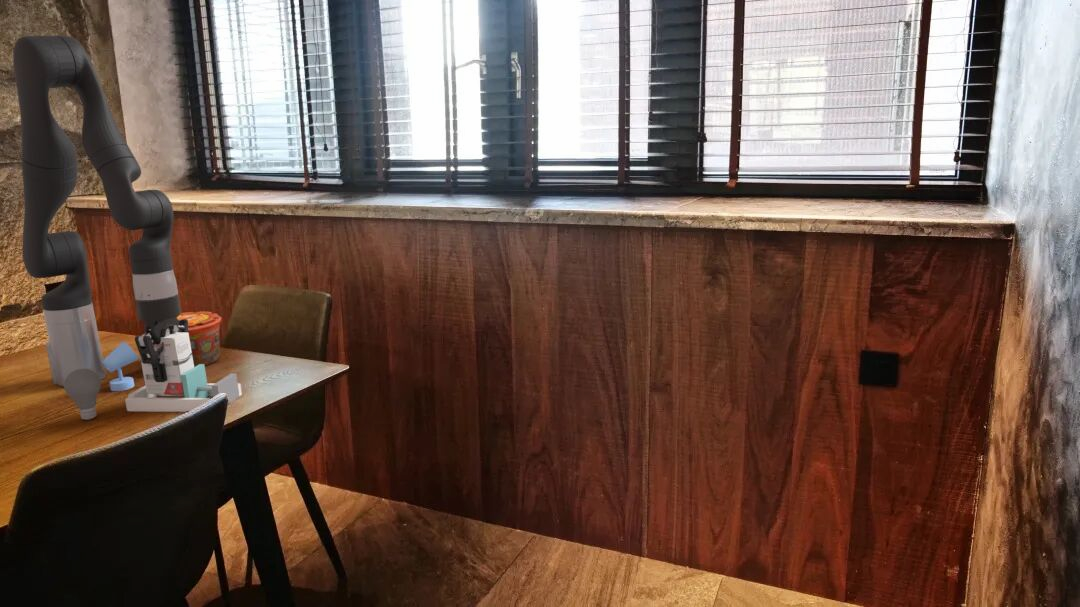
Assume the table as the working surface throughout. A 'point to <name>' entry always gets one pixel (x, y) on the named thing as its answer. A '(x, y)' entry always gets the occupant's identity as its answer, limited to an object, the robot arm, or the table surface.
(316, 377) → the table surface
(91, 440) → the table surface
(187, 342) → the ink box
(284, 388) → the table surface
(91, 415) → the light bulb
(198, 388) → the pusher
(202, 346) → the food container
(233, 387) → the light grey piece
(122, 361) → the spotlight
